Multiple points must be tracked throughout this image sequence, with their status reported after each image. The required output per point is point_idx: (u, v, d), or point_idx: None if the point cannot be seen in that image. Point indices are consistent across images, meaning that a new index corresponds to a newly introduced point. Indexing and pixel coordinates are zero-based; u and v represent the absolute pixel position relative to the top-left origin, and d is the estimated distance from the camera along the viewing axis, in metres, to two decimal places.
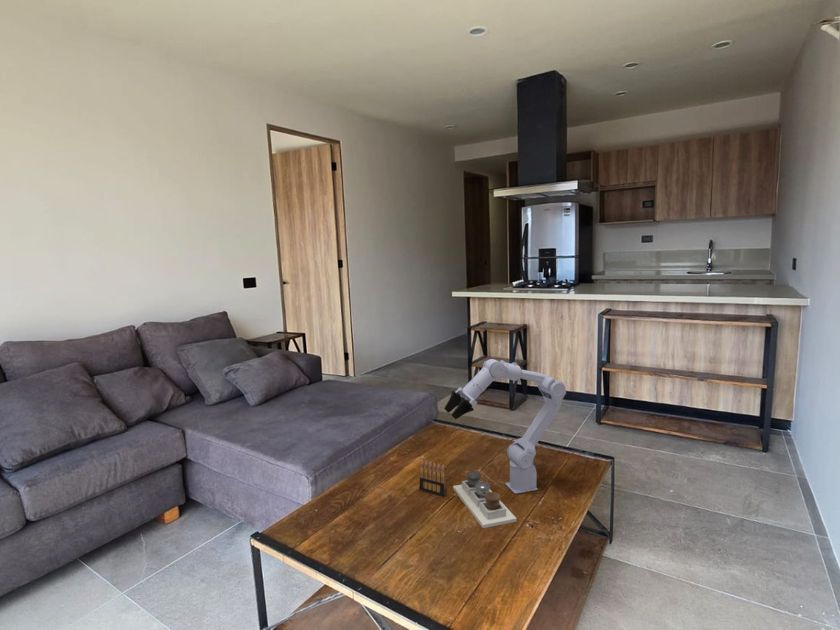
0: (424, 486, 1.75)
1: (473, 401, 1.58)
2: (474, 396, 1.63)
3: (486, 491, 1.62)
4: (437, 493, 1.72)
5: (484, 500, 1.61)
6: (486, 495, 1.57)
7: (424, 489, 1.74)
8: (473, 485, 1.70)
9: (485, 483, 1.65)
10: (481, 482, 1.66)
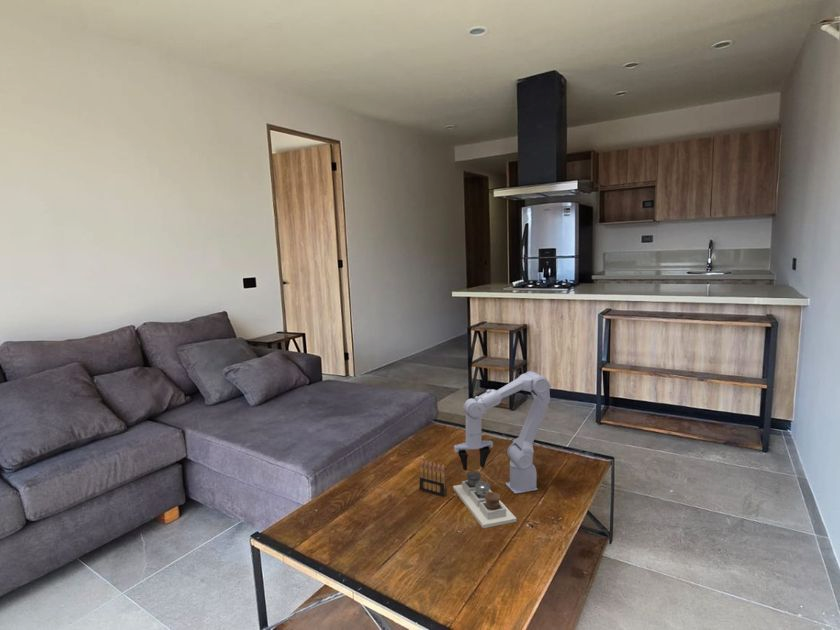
0: (424, 486, 1.75)
1: (454, 447, 1.69)
2: (467, 442, 1.68)
3: (486, 491, 1.62)
4: (437, 493, 1.72)
5: (484, 500, 1.61)
6: (486, 495, 1.57)
7: (424, 489, 1.74)
8: (473, 485, 1.70)
9: (485, 483, 1.65)
10: (481, 482, 1.66)
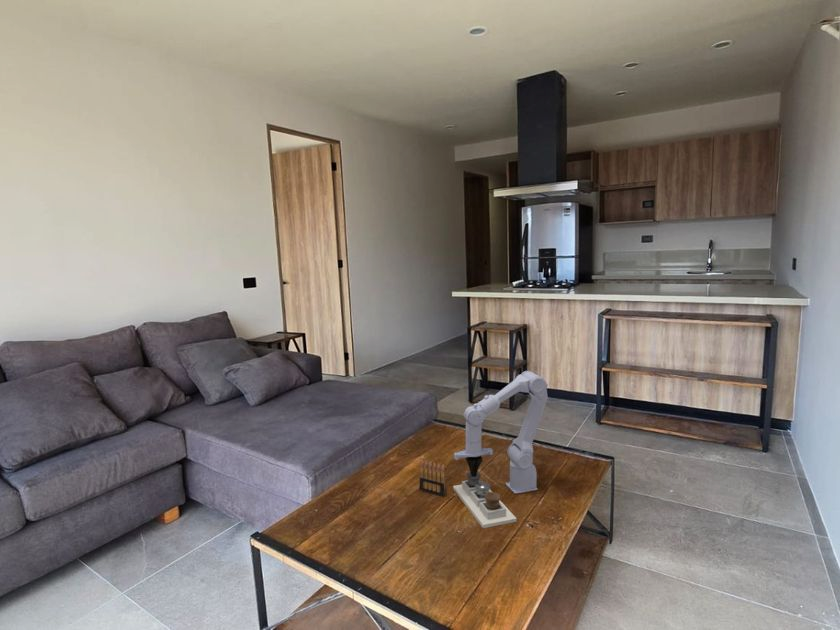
0: (424, 486, 1.75)
1: (454, 455, 1.69)
2: (467, 450, 1.69)
3: (486, 491, 1.62)
4: (437, 493, 1.72)
5: (484, 500, 1.61)
6: (486, 495, 1.57)
7: (424, 489, 1.74)
8: (473, 485, 1.70)
9: (485, 483, 1.65)
10: (481, 482, 1.66)
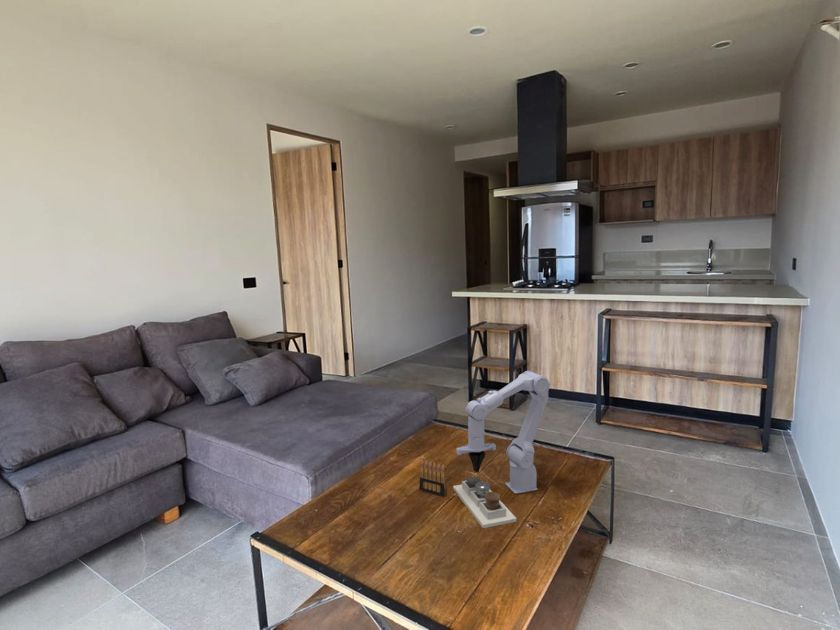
0: (424, 486, 1.75)
1: (456, 450, 1.66)
2: (470, 445, 1.66)
3: (486, 491, 1.62)
4: (437, 493, 1.72)
5: (484, 500, 1.61)
6: (486, 495, 1.57)
7: (424, 489, 1.74)
8: None
9: (485, 483, 1.65)
10: (481, 482, 1.66)
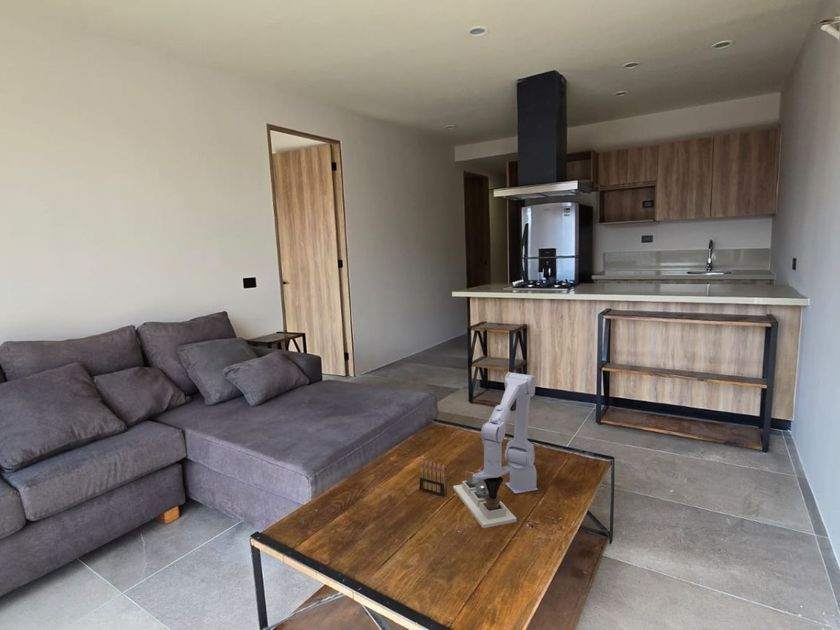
0: (424, 486, 1.75)
1: (473, 477, 1.53)
2: (487, 470, 1.53)
3: (486, 491, 1.62)
4: (437, 493, 1.72)
5: (484, 500, 1.61)
6: (486, 496, 1.57)
7: (424, 489, 1.74)
8: None
9: None
10: (481, 482, 1.66)
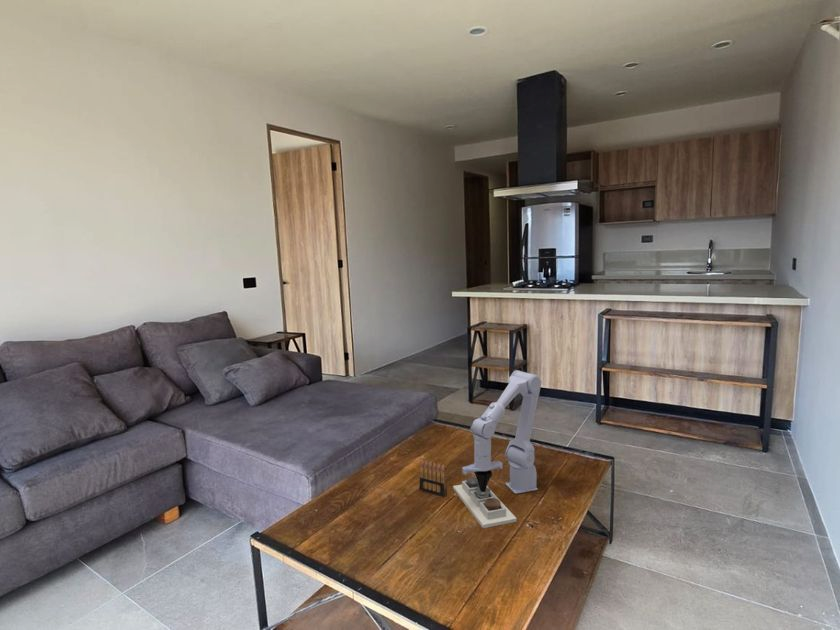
0: (424, 486, 1.75)
1: (462, 469, 1.62)
2: (476, 464, 1.61)
3: (486, 496, 1.63)
4: (437, 493, 1.72)
5: (484, 500, 1.61)
6: (486, 501, 1.57)
7: (424, 489, 1.74)
8: None
9: None
10: None
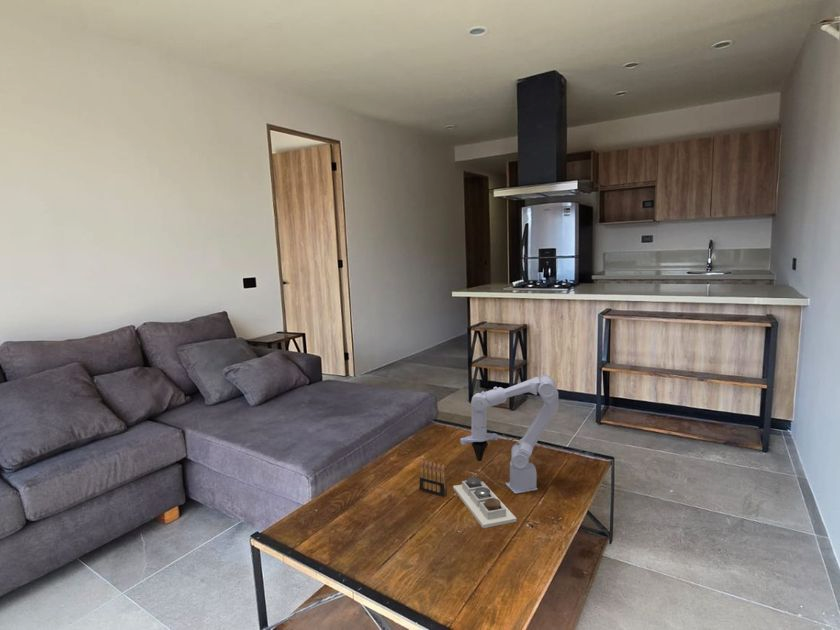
0: (424, 486, 1.75)
1: (460, 440, 1.75)
2: (473, 435, 1.75)
3: (486, 497, 1.63)
4: (437, 493, 1.72)
5: (484, 500, 1.61)
6: (486, 501, 1.57)
7: (424, 489, 1.74)
8: None
9: (485, 489, 1.65)
10: (481, 488, 1.66)
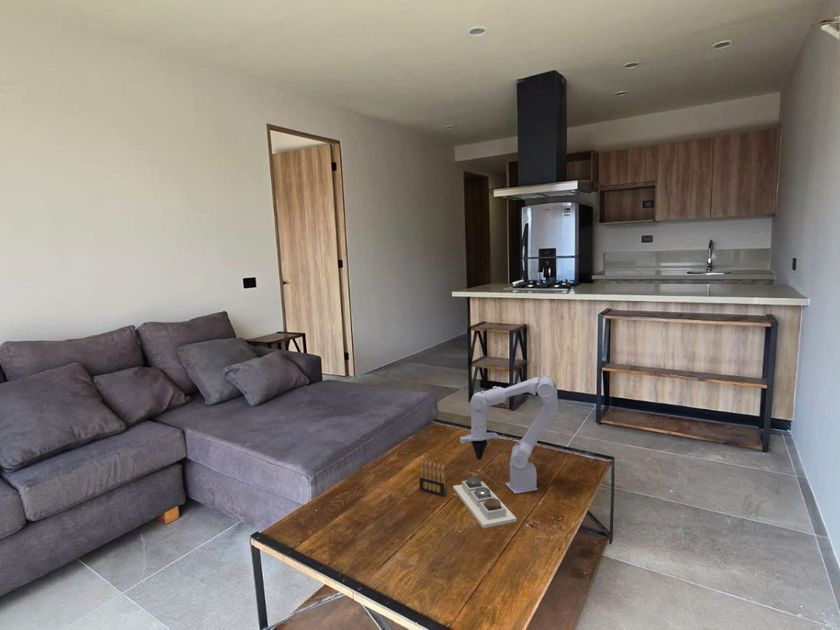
0: (424, 486, 1.75)
1: (460, 439, 1.76)
2: (473, 434, 1.76)
3: (486, 497, 1.63)
4: (437, 493, 1.72)
5: (484, 500, 1.61)
6: (486, 501, 1.57)
7: (424, 489, 1.74)
8: None
9: (485, 489, 1.65)
10: (481, 488, 1.66)
